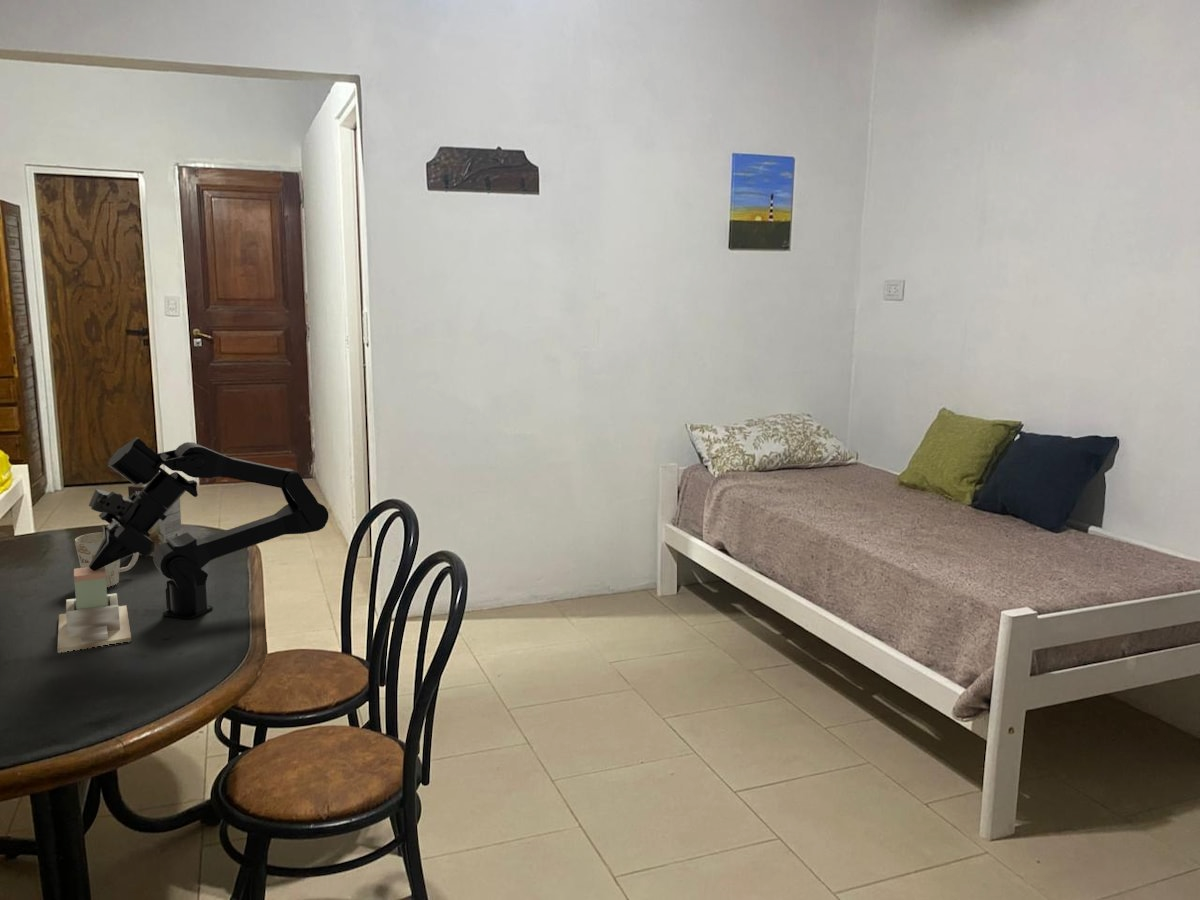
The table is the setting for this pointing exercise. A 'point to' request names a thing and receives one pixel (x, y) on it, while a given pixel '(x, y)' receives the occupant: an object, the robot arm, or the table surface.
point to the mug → (88, 549)
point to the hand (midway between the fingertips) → (91, 569)
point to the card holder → (93, 626)
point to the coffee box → (162, 528)
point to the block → (90, 588)
